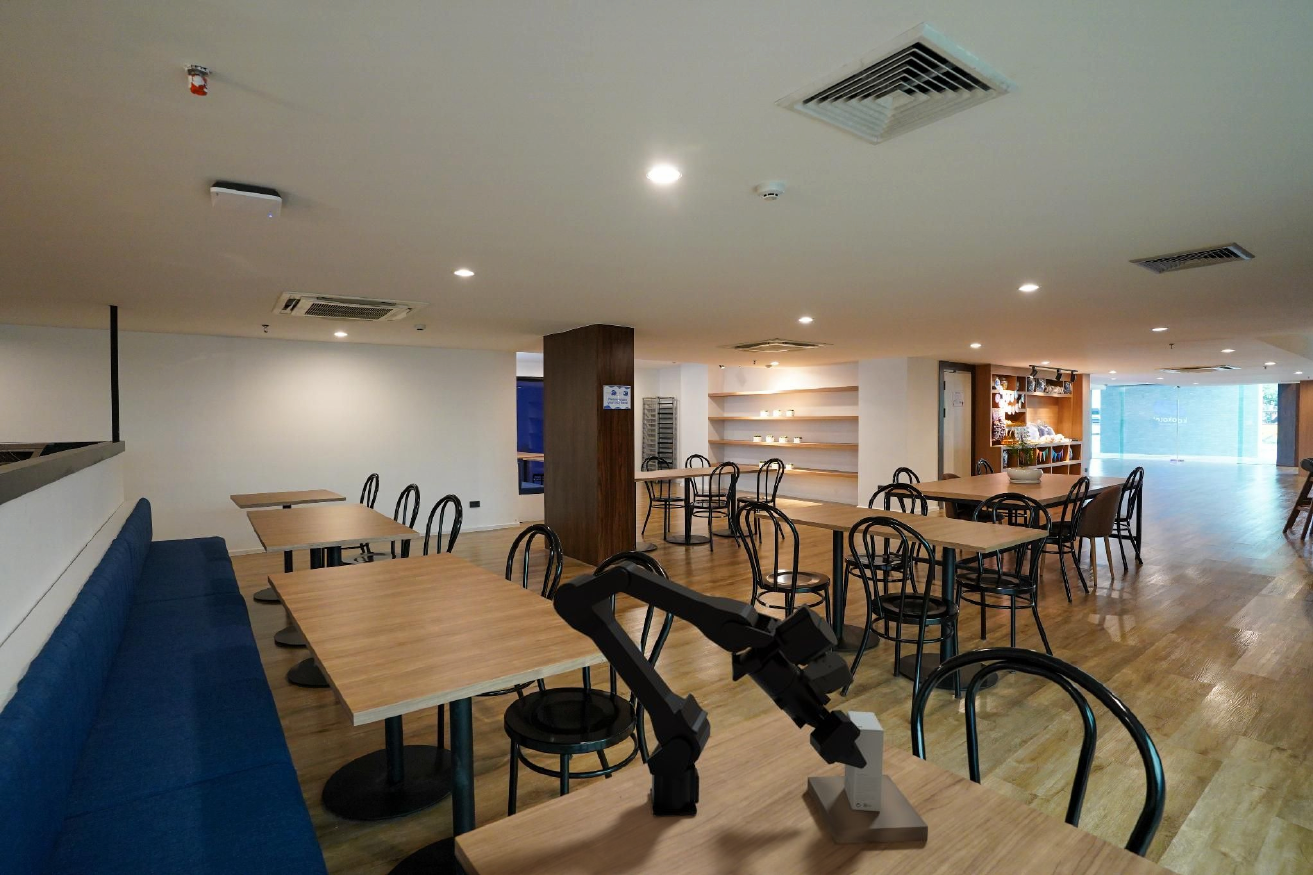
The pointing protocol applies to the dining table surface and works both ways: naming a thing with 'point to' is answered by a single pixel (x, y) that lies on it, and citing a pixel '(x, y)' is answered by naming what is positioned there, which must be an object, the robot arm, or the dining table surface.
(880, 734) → the skincare box
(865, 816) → the walnut plinth
